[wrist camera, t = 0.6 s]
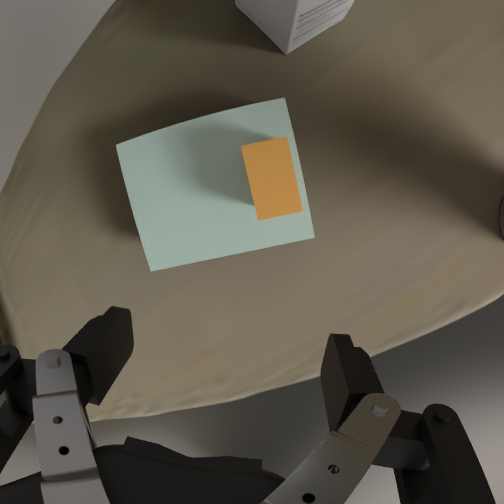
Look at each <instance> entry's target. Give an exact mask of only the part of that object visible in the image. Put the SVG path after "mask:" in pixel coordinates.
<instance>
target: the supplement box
mask: <svg viewBox="0 0 504 504" xmlns="http://www.w3.org/2000/svg"><path fill="white" fill-rule="evenodd" d="M354 1H355V0H235V3H236V6H237V7H238V8H239V9H240V10H241V11H242V12H243V13H244V14H245V15H246V16H247V17H248V18H249V19H250V20H251V21H252V22H253V23H255V24H256V25H257V26H258V27H259V28H260V29H261V30H262V31H263V32H264V33H265V34H266V35H267V36H268V37H269V38H270V39H271V40H272V41H273V42H274V43H275V44H276V46H277V47H278V48H279V49H280V50H281V51H282V52H283V53H284V54H286V55H287V54H289V53H290V52H292V51H293V50H295V49H296V48H298V47H299V46H301V45H302V44H304V43H306V42H307V41H309V40H310V39H312V38H313V37H315V36H317V35H318V34H320V33H321V32H323V31H325V30H326V29H328V28H330V27H331V26H333V25H335V24H336V23H338V22H340V21H341V20H343V19H344V17H345V15H346V13H347V12H348V10H349V9H350V7H351V5H352V4H353V2H354Z"/></svg>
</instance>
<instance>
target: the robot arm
mask: <svg viewBox="0 0 504 504" xmlns="http://www.w3.org/2000/svg"><path fill="white" fill-rule="evenodd" d="M499 221H500V229H501V233H502V235H503V238H504V198H503V201H502V204H501V209H500V218H499ZM133 347H134V338H133V329H132V319H131V312H130V310H129V309H126V308H120V307H115V306H111V307H110V308H109V309H108V310H107V311H106V312H105V313H104V314H103V315H102V316H101V315H99V316H97V317H95V318H93V319H91V320H89V321H88V322H87V324H86V325H85V326H84V327H83V328H82V329H81V330H80V331H79V332H78V334H76V335H75V336H74V337H73V338H72V339H71V340H70V341H69V342H68V343H67V344H66V345H65V346H64V347H63V348H62V349H61V350H60V349H51V350H47V351H45V352H43V353H41V354H40V355H39V356H38V357H37V359H36V360H34V359H22V358H21V356H20V353H19V350H18V349H17V348H16V347H14V346H11V345H3V346H0V395H1V394H2V392H3V394H4V397H5V399H6V401H5V402H4V403H3V404H2V405H1V407H0V473H1V471H2V470H3V468H4V466H5V464H6V463H7V461H8V460H9V458H10V456H11V455H12V453H13V452H14V450H15V448H16V447H17V445H18V444H19V442H20V440H21V439H22V437H23V436H24V434H25V433H26V431H27V429H28V428H29V426H30V425H31V423H32V422H33V420H34V425H35V434H36V442H37V448H38V456H39V461H40V467H41V471H40V472H37V473H35V474H32V475H29V476H27V477H24V478H21V479H19V480H16V481H13V482H10V483H8V484H5V485H2V486H0V504H344V503H345V502H346V500H347V499H348V498H349V496H350V495H351V494H352V492H353V491H354V489H355V488H356V486H357V485H358V484H359V482H360V481H361V479H362V477H363V476H364V475H365V473H366V472H367V470H368V469H369V467H370V466H371V464H373V465H378V466H383V467H390V468H393V469H394V474H395V479H396V483H397V488H398V493H399V498H400V503H401V504H496V503H495V500H494V497H493V495H492V492H491V489H490V487H489V484H488V482H487V479H486V477H485V474H484V472H483V470H482V467H481V465H480V463H479V460H478V458H477V456H476V454H475V451H474V449H473V447H472V444H471V442H470V440H469V438H468V436H467V434H466V432H465V429H464V427H463V425H462V423H461V421H460V419H459V417H458V415H457V414H456V412H455V411H454V410H453V409H451V408H450V407H448V406H446V405H443V404H431V405H429V406H427V407H426V408H425V410H424V411H423V413H422V414H419V413H414V412H408V411H403V410H401V407H400V405H399V403H398V402H397V401H396V400H395V399H394V398H392V397H391V396H389V395H386V394H384V391H383V388H382V386H381V383H380V381H379V379H378V376H377V374H376V372H375V369H374V367H373V365H372V362H371V360H370V357H369V355H368V354H367V353H366V352H365V351H364V350H363V349H362V348H361V347H354V345H353V343H352V340H351V337H350V335H348V334H330V335H329V338H328V342H327V346H326V350H325V354H324V358H323V362H322V366H321V375H320V376H321V384H322V390H323V395H324V400H325V406H326V412H327V418H328V424H329V430H330V433H329V435H328V436H327V437H326V438H325V439H324V440H323V441H322V443H321V444H320V445H319V446H318V447H317V448H316V449H315V450H314V451H313V452H312V454H311V455H309V457H308V458H307V459H306V460H305V461H304V462H303V463H302V464H301V465H300V466H299V467H298V468H297V469H296V470H295V471H294V472H293V473H292V474H291V475H290V476H289V477H288V478H287V479H285V478H283V477H281V476H279V475H277V474H275V473H273V472H270V471H268V470H264V469H262V460H261V459H249V458H238V457H229V456H222V457H200V458H192V457H187V456H185V455H182V454H180V453H178V452H175V451H173V450H171V449H168V448H166V447H164V446H162V445H159V444H156V443H152V442H148V441H144V440H140V439H136V438H132V437H129V436H127V438H126V440H125V443H124V445H121V444H120V445H106V446H101V447H97V444H96V441H95V438H94V434H93V431H92V428H91V425H90V421H89V417H88V414H87V410H86V405H87V404H88V402H89V403H92V404H95V405H98V406H99V405H100V403H101V402H102V400H103V399H104V397H105V395H106V394H107V392H108V391H109V389H110V387H111V386H112V384H113V383H114V381H115V379H116V378H117V376H118V375H119V373H120V372H121V370H122V368H123V367H124V365H125V364H126V362H127V361H128V359H129V358H130V356H131V354H132V352H133Z"/></svg>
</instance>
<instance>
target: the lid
mask: <svg viewBox="0 0 504 504" xmlns="http://www.w3.org/2000/svg"><path fill="white" fill-rule="evenodd" d="M116 148H117V153H118V157H119V161H120V165H121V169H122V173H123V177H124V181H125V185H126V189H127V193H128V197H129V200H130V204H131V208H132V211H133V215H134V218H135V222H136V225H137V229H138V232H139V235H140V239H141V242H142V245H143V248H144V251H145V255H146V258H147V261H148V264H149V267H150V270H151V271H156V270H161V269H165V268H170V267H175V266H180V265H185V264H189V263H194V262H199V261H204V260H209V259H214V258H218V257H223V256H228V255H233V254H238V253H243V252H248V251H252V250H257V249H262V248H267V247H272V246H277V245H281V244H286V243H291V242H296V241H301V240H306V239H311V238H315V237H314V231H313V226H312V220H311V215H310V210H309V204H308V199H307V194H306V189H305V184H304V180H303V175H302V170H301V165H300V161H299V156H298V152H297V147H296V143H295V138H294V134H293V130H292V125H291V121H290V117H289V113H288V109H287V105H286V101H285V98H280V99H275V100H270V101H265V102H260V103H255V104H251V105H246V106H242V107H238V108H233V109H229V110H225V111H221V112H218V113H214V114H210V115H206V116H203V117H199V118H195V119H192V120H189V121H185V122H182V123H178V124H175V125H172V126H169V127H166V128H163V129H159V130H156V131H153V132H150V133H147V134H145V135H142V136H139V137H136V138H133V139H130V140H128V141H125V142H122V143H120V144H117V145H116Z"/></svg>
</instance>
